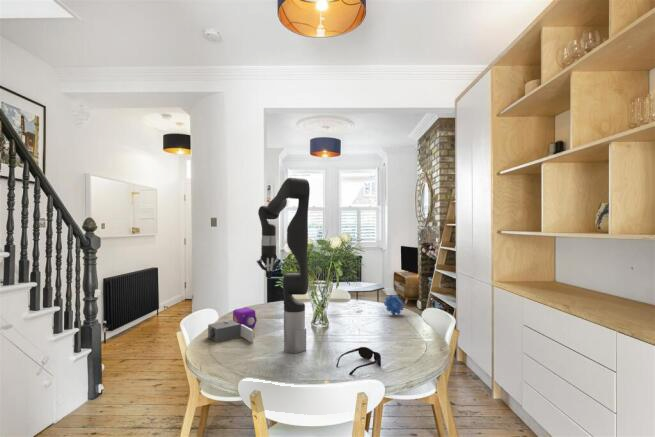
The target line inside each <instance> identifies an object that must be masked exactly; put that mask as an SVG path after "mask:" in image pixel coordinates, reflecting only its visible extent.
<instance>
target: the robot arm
mask: <svg viewBox="0 0 655 437" xmlns="http://www.w3.org/2000/svg"><path fill="white" fill-rule="evenodd" d="M310 189H311V188H310V182H309V181H308V180H307V178H306V179H305V178H300V177H287V178H286V179H285V180H284V181H283V183H282V184H281V186H280V188H279V190H278V191H277V193H276V195H274V197H273V198H272V200H270V201H269V202H268V204H267V205H261V206H260V207H259V208H258V211H257V212H258V213H257V214H258V218H259V222H260V224H261V242H260V244H261V246H260V247H261V248H260V250H261V251H260V252H261V255H260V258H259V259H257V260H256V263H257V266H259V267H260V269H261V270H263V271H265V278H266V279H271V278H272V277H273V271H274V270H276V269H277V267H278V266H279V264H280V263H281V261H282V259H280V258H278V256H277V236H276V235H277V234H276V231H277V229H276V228H277V227H276V225H275V224H272V223H269V222H268V220H277V219H278V218H279V216H280V213H281V212H282V211H283V210H284V209H285V208H286V207H287V203H288V201H287V199H293V200H294V199H295V200H297V199H298V204H297V210H296V212H295V214H294V216H292V219H291V220H290V222H289V224H288V226H287V229H286V230H287V231H286V243H287V246H288V249H289V251H290V252H291V253H292V255H293V257H294V258H295V260H296V262H297V265H298V267H299V268H298V269H299V272H300V273H299V272H298V273H296V272H294V273H292V272H287V273H285V274H284V276H283V279H282V288H283V289H282V291H283V292H282V294H283V350H284V352H286V353H289V354H295V355H296V354H300V353H301V352H305V351H307V328H306V304H305V302H303V301H301V300H298V299H297V298H295V297H294V295H297V296H298V295H299V296H301V295H302V296H303V295H307V293H308V291H309V269H308V268H309V267H308V249H309V248H308V247H309V246H308V244H309V242H308V241H309V239H308V238H309V232H308V231H309V230H308V229H309V227H308V223H309V204H310Z"/></svg>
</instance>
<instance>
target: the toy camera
mask: <svg viewBox="0 0 655 437" xmlns="http://www.w3.org/2000/svg"><path fill="white" fill-rule="evenodd" d="M232 321H235V322H237V323H239V324H241V325H242V324H243V325H245V326H247V327H248V328H250V329H252V328H255V327H256V324H257V317H256V310H255V309H252V308H249V307H248V306H244V307H241V308H235V309H234V310H233V312H232ZM240 331H241V326H240Z"/></svg>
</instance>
